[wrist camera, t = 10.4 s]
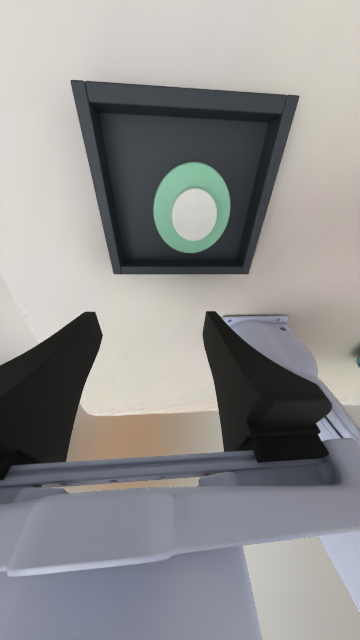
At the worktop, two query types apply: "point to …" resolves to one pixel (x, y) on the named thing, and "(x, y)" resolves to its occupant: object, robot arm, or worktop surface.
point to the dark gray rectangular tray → (173, 150)
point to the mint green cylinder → (191, 207)
